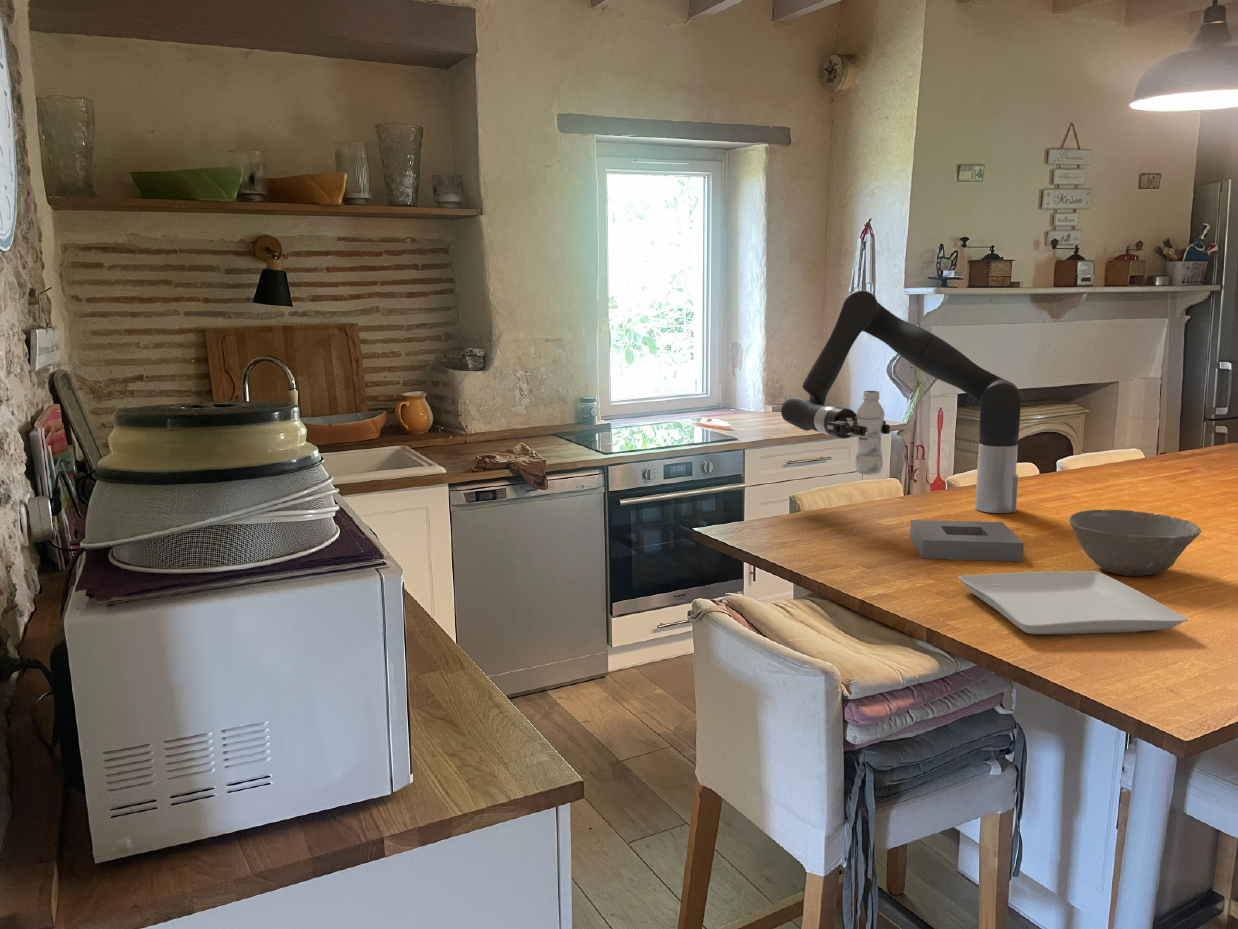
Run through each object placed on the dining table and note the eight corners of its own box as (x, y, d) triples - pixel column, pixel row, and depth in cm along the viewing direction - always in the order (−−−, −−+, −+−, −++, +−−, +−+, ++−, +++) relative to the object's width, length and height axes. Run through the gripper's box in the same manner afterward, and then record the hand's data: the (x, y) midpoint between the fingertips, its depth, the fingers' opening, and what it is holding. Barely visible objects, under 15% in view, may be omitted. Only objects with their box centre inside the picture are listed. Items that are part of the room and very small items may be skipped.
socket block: (1001, 539, 206) (1002, 522, 205) (1022, 561, 188) (1023, 543, 188) (910, 536, 209) (910, 519, 208) (922, 558, 192) (922, 540, 191)
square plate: (1095, 587, 172) (1097, 568, 171) (1189, 641, 145) (1191, 618, 145) (954, 591, 171) (955, 571, 171) (1022, 645, 144) (1024, 622, 144)
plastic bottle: (887, 474, 218) (891, 391, 214) (873, 478, 213) (876, 393, 210) (863, 470, 222) (866, 389, 219) (849, 474, 218) (851, 391, 214)
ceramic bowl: (1040, 562, 188) (1043, 515, 186) (1123, 550, 195) (1127, 505, 194) (1134, 594, 167) (1139, 541, 165) (1222, 579, 175) (1227, 529, 173)
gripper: (811, 408, 226) (851, 416, 210) (860, 405, 231) (902, 412, 215) (810, 438, 227) (850, 448, 212) (859, 434, 232) (900, 444, 217)
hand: (876, 430), depth 214 cm, fingers closed on plastic bottle, 6 cm apart
